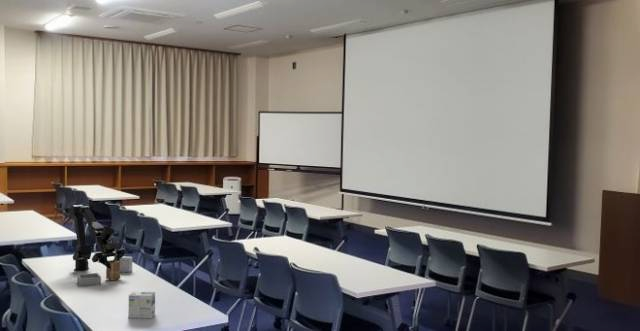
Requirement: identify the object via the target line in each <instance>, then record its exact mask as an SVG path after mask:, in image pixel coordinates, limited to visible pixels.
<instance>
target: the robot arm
mask: <svg viewBox="0 0 640 331" xmlns="http://www.w3.org/2000/svg"><path fill="white" fill-rule="evenodd" d="M68 210H69V211H68V212H69V214H70V216H71V218H72V220H74V226H75V227H74V228H75V235H76V241H77V244H76V247H75V252H74V254H72V260H73V261H74V262H75V263H74V265H75V266H74V267H75V268H74V269H73V271H77V272H78V271H80V272H84V271H87V270H88V269H90V267H89V260H90V259H91V262H92V263H99V264H102V265H103V266H104V267H108V268H109V269H110V268H111V267H110V264H109V262H108V261H109V260H108V258H110V257H113V259H112V260H118V261H120V258H122V257H123V256H125V254H126V249H125V248H120V249H119V248H118V247H120V242H119V240H116V241H114V242H109V240H111V238H112V237H113V235H114V234H115V229H114V228H112V227H110V226H109V225H104V226H103V225H102V224H101V223H99V222H98V220H97V219H96V218H95V216H94V214H93V212H92V210H91V208H90V206H89V205H88V206H87V205H86V206H84V205H83V204H75V205H74V204H73V205H71V206H70V207H69V208H68ZM84 220H85V221H86V223H87V225H88V227H89V233H90V236H91V237H92V238H96V239H95V242H94V244H95V245H97V246H98V247H99V250H98V251H99V252H94V255H92V248H91V246H92V245H91V244H89V243H88V242H87V238H86V230H85V223H84V222H85V221H84ZM116 249H117V251H116ZM91 256H92V258H91Z"/></svg>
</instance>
